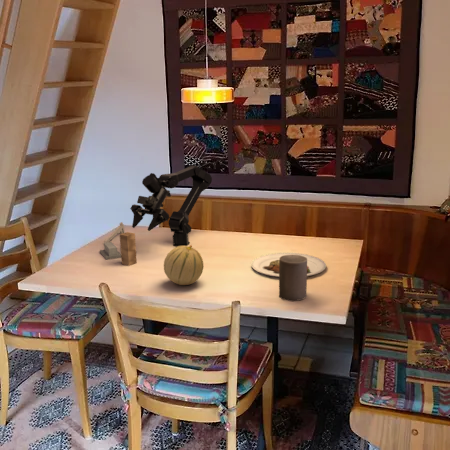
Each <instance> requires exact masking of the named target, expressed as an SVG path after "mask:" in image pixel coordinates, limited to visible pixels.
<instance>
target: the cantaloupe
mask: <svg viewBox="0 0 450 450" xmlns="http://www.w3.org/2000/svg"><path fill="white" fill-rule="evenodd" d="M163 271H164V274H165V275H166V278H167V279H169V280H170V281H171V282H173V283H174V284H176V285H180V286H188V285H192V284H194V283H196V282H197V281H198V279H200V277H201V275H202V274H203V271H204V260H203V257H202V255H201V253H200V252H199V251H198V250H197V249H196V248H194V247H193V245H192V244H191V245H187V246H175V247H174V248H173V249H171V250H170V251H169V252H168V253H167V254H166V256H165V258H164V261H163Z"/></svg>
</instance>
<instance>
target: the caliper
mask: <svg viewBox="0 0 450 450" xmlns="http://www.w3.org/2000/svg"><path fill="white" fill-rule="evenodd" d="M122 233H125V224H124V222H123V221H121V222H119V225H118V226H117V227H116V228H115V230H114V231H113V232H112V233H111V234H110V235H109V236H108V237H107V238H106V239H105V240H104V241H103V243H102V245H104V243H107V242H111V241H112V240H113V238H115V236H117V235H120V234H122Z"/></svg>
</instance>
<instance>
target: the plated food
mask: <svg viewBox="0 0 450 450" xmlns="http://www.w3.org/2000/svg"><path fill="white" fill-rule="evenodd" d="M285 255H300V256H304V257H306V258H307V277H309V276H314V275H318V274H320V273H322V272H323V271H325V269H326V267H327V265H326V262H325V261H324V260H322V259H321V258H319V257H317V256H313V255H309V254H306V253H299V252H298V253H297V252H275V253H268V254H264V255H263V254H262V255H260V256H258V257H256V258H254V259H253V260H251V263H250V266H251V268H253V270H255V271H256V272H258V273H260V274H262V275H267V276H271V277H278V278H279V260H280V257H282V256H285Z"/></svg>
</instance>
